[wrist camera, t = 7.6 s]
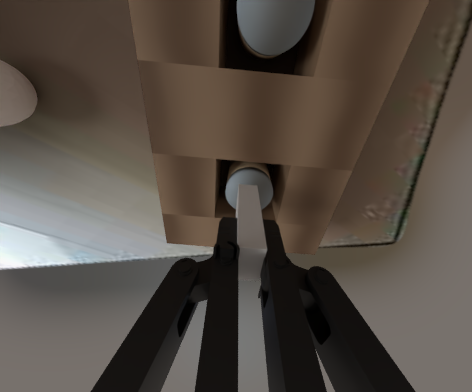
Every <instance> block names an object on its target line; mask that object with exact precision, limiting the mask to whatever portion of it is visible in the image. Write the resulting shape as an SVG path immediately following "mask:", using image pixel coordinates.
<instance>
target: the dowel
mask: <svg viewBox="0 0 472 392" xmlns="http://www.w3.org/2000/svg"><path fill="white" fill-rule="evenodd" d="M239 184H244V185H257V187H258V193H259V200H260V206H261V209H263V208H265V207H266V206H267V205H268V204H269V203H270V201H271V199H272V197H273V187H272V183H271V179H270V176H269V172H268V168H267V165H266V163H258V162H246V161H235V160H230V164H229V171H228V178H227V184H226V191H225V193H226V198H227V201H228V202H229V204H230V205H231V206H232V207H233V208H235V209H236V205H237V196H238V186H239Z"/></svg>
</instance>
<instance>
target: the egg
mask: <svg viewBox="0 0 472 392" xmlns="http://www.w3.org/2000/svg"><path fill="white" fill-rule="evenodd" d="M37 100H38V99H37V94H36V91H35V89H34V87H33V85H32V84H31V82H30V81H29V80H28V79H27V78H26V77H25V76H24V75H23V74H22V73H21V72H20V71H18V70H17V69H16V68H14V67H13V66H11V65H9V64H7V63H6V62H4V61H2V60H0V127H2V126H8V125H13V124H16V123H19V122H21V121H23V120H25V119H27V118H28V117H30V116H31V115H32V114H33V112H34V111H35V108H36V106H37Z"/></svg>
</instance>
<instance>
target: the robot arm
mask: <svg viewBox="0 0 472 392" xmlns="http://www.w3.org/2000/svg"><path fill="white" fill-rule="evenodd" d="M260 276H261V286H260V291H259V294H258V298H260V296H261V307H262V319H263V330H264V341H265V351H266V364H267V375H268V386H269V392H327V391H326V387H325V383H324V380H323V376H322V372H321V369H320V365H319V361H318V357H317V354H316V351H317V353H318V355H319V358H320V360H321V362H322V364H323V366H324V368H325V371H326V373H327V375H328V377H329V379H330V381H331V383H332V386H333V388H334V390H335V392H415V390H414V389H413V388H412V386H411V385H410V383H409V382H408V381H407V379H406V378H405V376H404V375H403V374H402V372H401V371H400V370H399V368H398V367H397V365H396V364H395V362H394V361H393V360H392V358H391V357H390V355H389V354H388V353H387V351H386V350H385V348H384V347H383V345H382V344H381V343H380V341H379V340H378V339H377V337H376V336H375V334H374V333H373V332H372V330H371V329H370V327H369V326H368V324H367V323H366V322H365V320H364V319H363V317H362V316H361V315H360V313H359V312H358V310H357V309H356V308H355V306H354V305H353V303H352V302H351V300H350V299H349V298H348V297H347V295H346V293H345V292H344V291H343V289H342V288H341V286H340V285H339V284H338V282H337V281H336V279H335V278H334V277H333V275H332V274H331V273H330V272H329V271H327V270H326V269H324V268H322V267H319V266H314V267H311V268H310V269H309V270H306V269H303V268H301V267H298V266H296V265H294V264H293V263H291V261H290V259H289V258H288V257H287V256H286V253H285V249H284V245H283V241H282V237H281V233H280V229H279V226H278V224H277V223H276V222H275V220H266V219H262V213H261V206H260V200H259V193H258V187H257V185H244V184H239V186H238V196H237V205H236V218H233V217H222V219H221V220H220V221H219V227H218V234H217V242H216V244H215V246H214V252H213V256H212V257H211V258H209V259H207V260H205V261H201V262H196V261H195V260H193V259H191V258H184V259H180V260H179V261H177V262H175V264H174V265H173V266H172V267H171V269H170V271H169V272H168V274H167V275H166V277H165V278H164V280H163V281H162V283H161V284H160V286H159V287H158V289H157V290H156V292H155V294H154V295H153V297H152V298H151V300H150V301H149V303H148V304H147V306H146V307H145V309H144V310H143V312H142V314H141V315H140V317H139V318H138V320H137V321H136V323H135V324H134V326H133V327H132V329H131V330H130V332H129V334H128V335H127V337H126V338H125V340H124V341H123V343H122V344H121V346H120V348H119V349H118V350H117V352H116V354H115V355H114V357H113V358H112V360H111V361H110V363H109V364H108V366H107V367H106V369H105V371H104V372H103V374H102V375H101V377H100V378H99V380H98V381H97V383H96V384H95V386H94V387H93V389H92V391H91V392H160V391H161V389H162V387H163V384H164V382H165V380H166V378H167V375H168V373H169V370H170V368H171V366H172V363H173V361H174V359H175V356H176V354H177V352H178V349H179V347H180V344H181V342H182V340H183V338H184V335H185V333H186V331H187V328H188V326H189V324H190V321H191V319H192V317H193V314H194V312H195V310H196V307H197V305H198V302H200V301H204V300H207V299H208V300H207V307H206V315H205V322H204V329H203V336H202V343H201V350H200V357H199V365H198V372H197V379H196V386H195V392H238V280H252V281H259V280H260ZM315 349H316V350H315Z"/></svg>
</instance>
